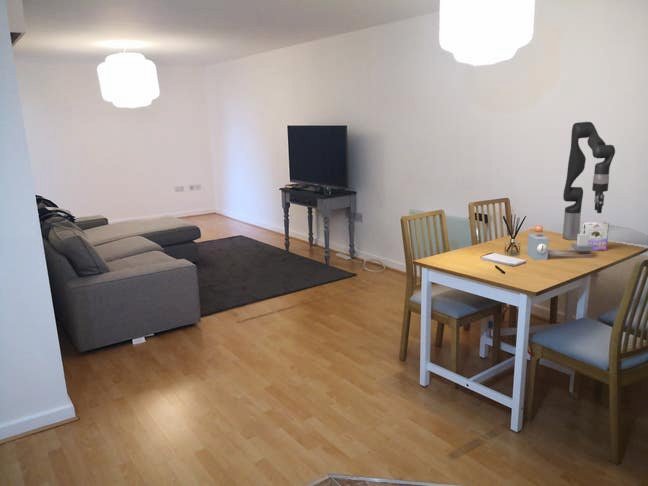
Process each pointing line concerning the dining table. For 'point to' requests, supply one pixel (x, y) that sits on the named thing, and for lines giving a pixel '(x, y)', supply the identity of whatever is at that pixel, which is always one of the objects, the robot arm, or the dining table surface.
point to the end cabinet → (537, 246)
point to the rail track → (569, 254)
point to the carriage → (582, 243)
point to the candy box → (596, 234)
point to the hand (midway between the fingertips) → (597, 211)
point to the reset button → (538, 228)
